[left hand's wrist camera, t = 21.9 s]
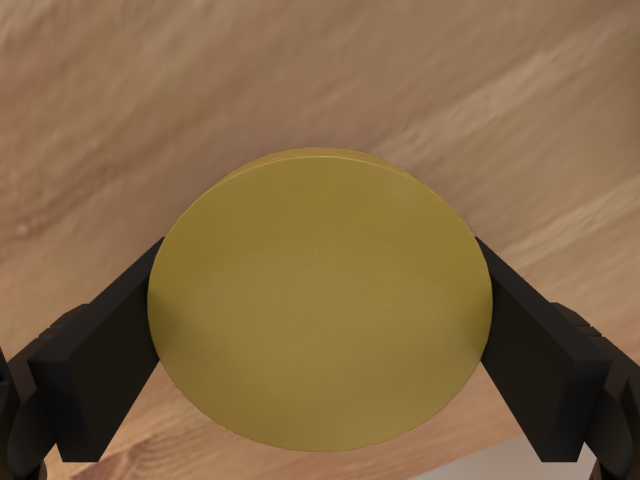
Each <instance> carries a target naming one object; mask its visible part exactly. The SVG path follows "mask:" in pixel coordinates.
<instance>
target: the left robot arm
mask: <svg viewBox="0 0 640 480" xmlns="http://www.w3.org/2000/svg"><path fill="white" fill-rule="evenodd" d="M474 238H475V239H476V241H477V242H478V244H479V247H480V249H481V251H482V254H483V256H484V259H485V261H486V263H487V268H488V272H489V276H490V280H491V285H492V297H493V310H492V322H491V327H490V332H489V336H488V341H487V344H486V346H485V349H484V351H483V354H482V357H481V359H480V361H481V362H482V364H483V366H484V367H485V369H486V371H487V372H488V374H489V376H490V377H491V379H492V381H493V382H494V384H495V386H496V387H497V389H498V390H499V392H500V394H501V395H502V397H503V399H504V400H505V402H506V404H507V405H508V407H509V409H510V410H511V412H512V414H513V415H514V417H515V419H516V420H517V422H518V424H519V425H520V427H521V429H522V430H523V432H524V433H525V435H526V437H527V438H528V440H529V442H530V443H531V445H532V447H533V448H534V450H535V452H536V453H537V455H538V457H539V458H540V460H541V462H577V460H578V457H579V454H580V452H581V449H582V446H583V443H584V442H585V443H586V444H587V445H588V447H589V448H590V449H591V451H592V452H593V453H594V455H595V456H596V457H597V459H596V462H595V465H594V467H593V470H592V473H591V475H590V478H589V480H640V366H638V365H637V364H636V363H635V362H634V361H633V360H631V359H630V358H629V357H628V356H627V355H626V354H624V353H623V352H622V351H621V350H620V349H618V348H617V347H616V346H615V345H614V344H613V343H611V342H610V341H609V340H608V339H607V338H606V337H602V334H601V333H600V332H598V331H597V330H596V329H595V328H594V327H590V324H589V323H588V322H587V321H586V320H584V319H583V318H582V317H581V316H580V315H578V314H577V313H576V312H574V311H572V310H570V309H568V308H567V307H565V306H563V305H561V304H559V303H549V302H548V301H547V300H546V299H545V298H544V297H543V296H542V295H541V294H539V293H538V292H537V291H536V290H535V289H534V288H533V287H532V286H531V285H529V284H528V283H527V282H526V281H525V280H524V279H523V278H522V277H521V276H520V275H518V274H517V273H516V272H515V271H514V270H513V269H512V268H511V267H510V266H509V265H507V264H506V263H505V262H504V261H503V260H502V259H501V258H500V257H499V256H497V255H496V254H495V253H494V252H493V251H492V250H491V249H490V248H489V247H488V246H486V245H485V244H484V243H483V242H482V241H481V240H480V239H479V238H478V237H474ZM164 239H165V237H162V238H161V239H160V240H159V241H158V242H157V243H156V244H154V245H153V246H152V247H151V248H150V249H149V250H148V251H147V252H146V253H145V254H143V255H142V256H141V257H140V258H139V259H138V260H137V261H136V262H135V263H134V264H132V265H131V266H130V267H129V268H128V269H127V270H126V271H125V272H124V273H122V274H121V275H120V276H119V277H118V278H117V279H116V280H115V281H114V282H113V283H111V284H110V285H109V286H108V287H107V288H106V289H105V290H104V291H103V292H101V293H100V294H99V295H98V296H97V297H96V298H95V299H94V300H93V301H92V302H90V303H89V304H82V305H80V306H78V307H76V308H74V309H72V310H70V311H69V312H67V313H65V314H63V315H62V316H61V317H60V318H59V319H57V320H56V321H55V322H54V323H53V324H52V325H50V328H47V329H46V330H45V331H43V332H42V333H41V334H40V335H39V337H38V338H35V339H34V340H33V341H32V342H31V343H29V344H28V345H27V346H26V347H25V348H24V349H22V350H21V351H20V352H19V353H18V354H17V355H15V356H14V357H13V358H12V359H11V360H10V361H8V362H7V363H6V360H5V357H4V355H3V352H2V349H1V347H0V480H47V469H46V465H45V462H44V458H45V456H46V455H47V454H48V453H49V451H50V450H51V449H52V447H53V446H54V445H55V443H56V444H57V447H58V450H59V453H60V455H61V458H62V461H63V462H98V461H99V460H100V458H101V456H102V455H103V453H104V451H105V450H106V448H107V446H108V445H109V443H110V441H111V440H112V438H113V436H114V435H115V433H116V431H117V430H118V428H119V427H120V425H121V423H122V422H123V420H124V418H125V417H126V415H127V413H128V412H129V410H130V408H131V407H132V405H133V403H134V402H135V400H136V398H137V397H138V395H139V393H140V392H141V390H142V388H143V387H144V385H145V384H146V382H147V380H148V379H149V377H150V375H151V374H152V372H153V370H154V369H155V367H156V365H157V364H158V362H159V360H160V359H159V357H158V355H157V352H156V349H155V346H154V343H153V340H152V337H151V332H150V327H149V322H148V315H147V293H148V286H149V279H150V274H151V271H152V267H153V264H154V261H155V258H156V255H157V253H158V251H159V249H160V247H161V245H162V243H163V241H164Z"/></svg>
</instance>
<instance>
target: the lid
mask: <svg viewBox="0 0 640 480" xmlns="http://www.w3.org/2000/svg"><path fill="white" fill-rule="evenodd" d="M492 310H493V297H492V285H491V280H490V276H489V272H488V268H487V263H486V261H485V259H484V256H483V254H482V251H481V249H480V247H479V244H478V242H477V241H476V239H475V238H474V236H473V234H472V233H471V231H470V230H469V228H468V226H467V225H466V224H465V222H464V221H463V220H462V219H461V218H460V217H459V215H458V214H457V213H456V212H455V211H454V210H453V208H452V207H451V206H450V205H448V204H447V203H446V202H445V201H444V200H443V199H441V198H440V197H439V196H438V195H437V194H436V193H434V192H433V191H432V190H431V189H430V188H429V187H427V186H426V185H425V184H424V183H423V182H422V181H420V180H419V179H418V178H417V177H415V176H414V175H412V174H410V173H409V172H407V171H406V170H404V169H403V168H401V167H399V166H397V165H395V164H393V163H391V162H388V161H386V160H384V159H382V158H380V157H376V156H373V155H370V154H366V153H363V152H360V151H355V150H349V149H342V148H336V147H307V148H298V149H289V150H285V151H281V152H277V153H273V154H269V155H266V156H264V157H261V158H259V159H256V160H254V161H251V162H249V163H246V164H245V165H243V166H241V167H239V168H238V169H236V170H234V171H232V172H231V173H229V174H227V175H226V176H225V177H224V178H222V179H221V180H220V181H218V182H217V183H216V184H215V185H213V186H212V187H211V188H210V189H208V190H207V191H206V192H205V193H204V194H203V195H201V196H200V197H199V198H198V199H197V200H195V201H194V202H193V203H192V204H191V205H190V207H189V208H188V209H187V210H186V211H185V212H184V213H183V214H182V215H181V216H180V217H179V218H178V219H177V221H176V222H175V224H174V225H173V227H172V228H171V229H170V231H169V232H168V234H167V235H166V237H165V239H164V241H163V243H162V245H161V247H160V249H159V251H158V253H157V255H156V258H155V261H154V264H153V267H152V271H151V274H150V279H149V286H148V293H147V315H148V322H149V327H150V332H151V337H152V340H153V343H154V346H155V349H156V352H157V355H158V357H159V359H160V361H161V363H162V365H163V367H164V369H165V371H166V372H167V374H168V375H169V376H170V378H171V379H172V381H173V382H174V384H175V385H176V387H177V388H178V389H179V390H180V391H181V392H182V393H183V395H184V396H185V397H186V398H187V399H188V400H189V401H190V402H191V403H192V404H193V405H194V406H196V407H197V408H198V409H199V410H200V411H201V412H202V413H204V414H205V415H207V416H208V417H209V418H211V419H212V420H214V421H215V422H216V423H218V424H220V425H222V426H223V427H225V428H227V429H229V430H231V431H232V432H234V433H237V434H239V435H241V436H244V437H246V438H248V439H251V440H253V441H257V442H260V443H263V444H266V445H269V446H274V447H279V448H284V449H288V450H297V451H306V452H331V451H344V450H350V449H356V448H362V447H366V446H370V445H374V444H377V443H381V442H384V441H386V440H389V439H392V438H394V437H397V436H399V435H401V434H403V433H405V432H407V431H409V430H411V429H413V428H415V427H417V426H419V425H420V424H422V423H423V422H425V421H426V420H428V419H429V418H431V417H432V416H434V415H435V414H436V413H437V412H439V411H440V410H441V409H442V408H443V407H445V406H446V405H447V404H448V403H449V402H450V401H451V400H452V399H453V398H454V397H455V396H456V395H457V394H458V393H459V391H460V390H461V389H462V388H463V386H464V385H465V384H466V382H467V381H468V380H469V378H470V377H471V375H472V374H473V372H474V370H475V368H476V366H477V365H478V363H479V361H480V359H481V357H482V354H483V351H484V349H485V346H486V344H487V341H488V336H489V332H490V327H491V322H492Z"/></svg>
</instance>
